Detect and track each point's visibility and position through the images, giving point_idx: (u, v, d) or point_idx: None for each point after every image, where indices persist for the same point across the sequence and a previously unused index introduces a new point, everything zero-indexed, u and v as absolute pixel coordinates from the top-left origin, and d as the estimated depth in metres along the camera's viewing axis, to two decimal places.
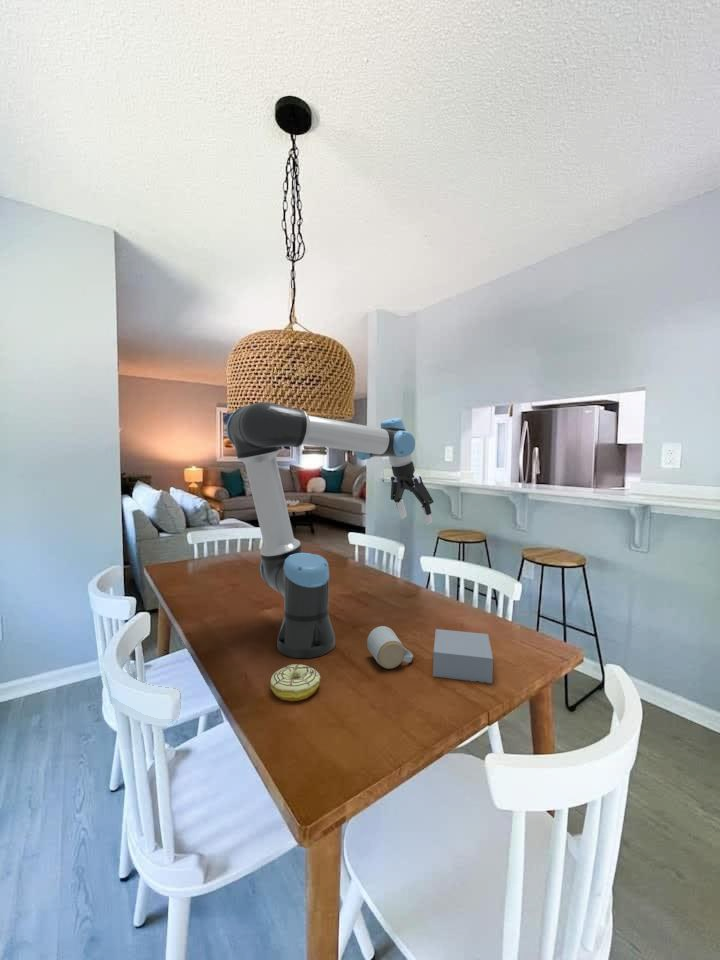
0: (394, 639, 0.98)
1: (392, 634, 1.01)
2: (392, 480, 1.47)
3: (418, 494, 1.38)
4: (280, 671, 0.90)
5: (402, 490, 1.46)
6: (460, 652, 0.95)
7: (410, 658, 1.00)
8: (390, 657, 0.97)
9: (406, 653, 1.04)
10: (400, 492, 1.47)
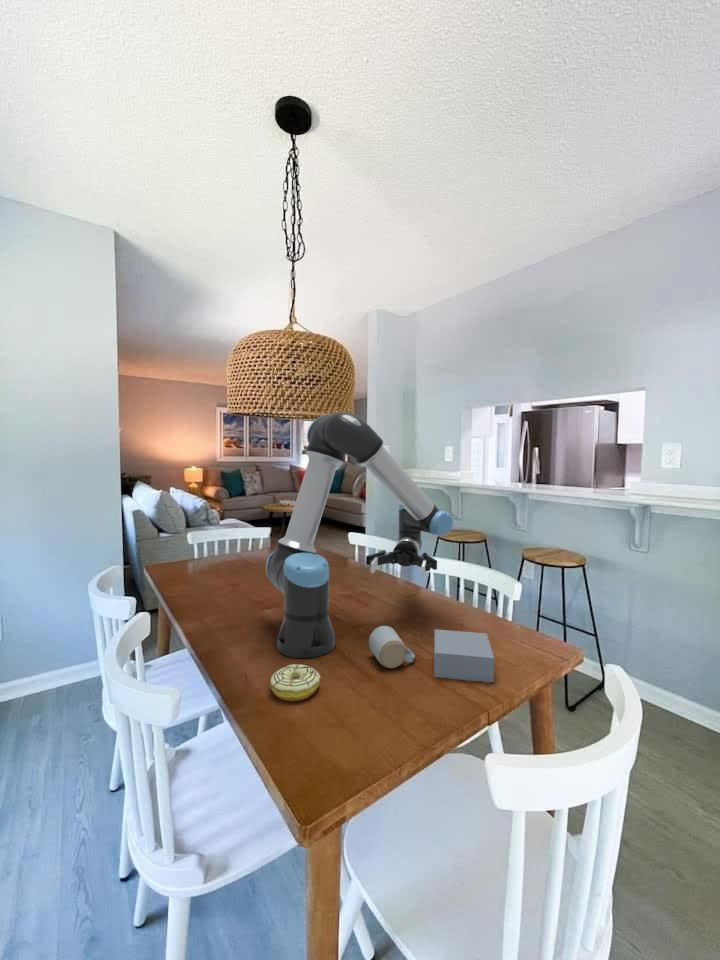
0: (396, 639, 0.98)
1: (394, 634, 1.01)
2: (383, 551, 1.26)
3: None
4: (280, 671, 0.90)
5: (389, 560, 1.21)
6: (461, 652, 0.94)
7: (412, 658, 1.00)
8: (392, 657, 0.97)
9: (408, 653, 1.04)
10: (387, 557, 1.21)
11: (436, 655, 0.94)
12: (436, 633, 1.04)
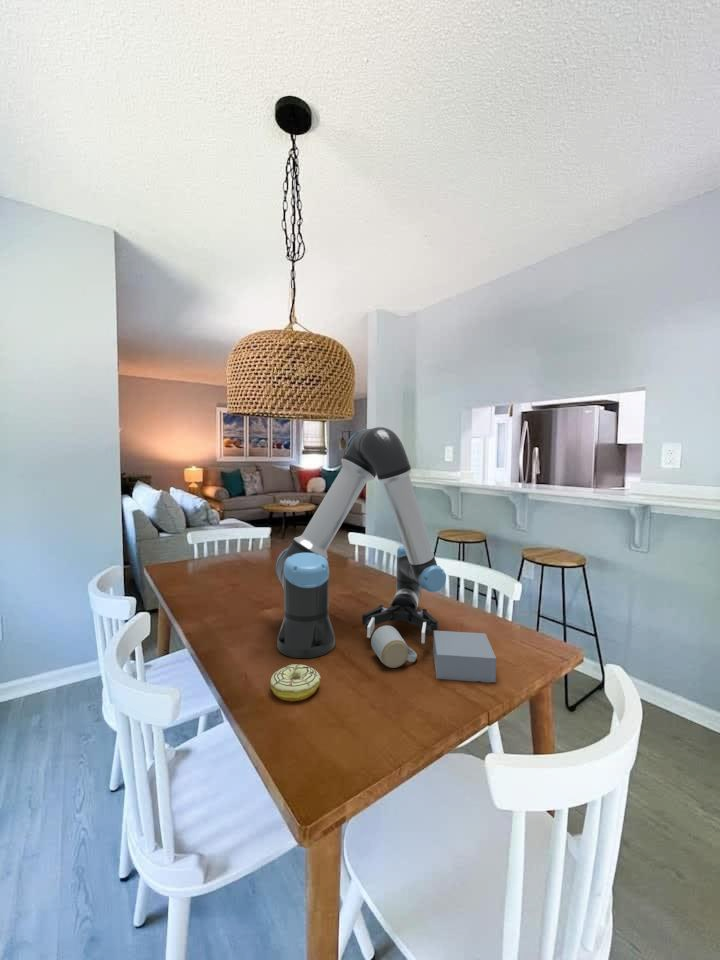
0: (398, 638, 0.98)
1: (396, 633, 1.01)
2: (380, 606, 1.19)
3: None
4: (280, 671, 0.90)
5: (386, 618, 1.14)
6: (463, 653, 0.94)
7: (414, 657, 1.00)
8: (394, 656, 0.97)
9: (410, 652, 1.04)
10: (385, 615, 1.14)
11: (438, 657, 0.93)
12: (436, 634, 1.04)
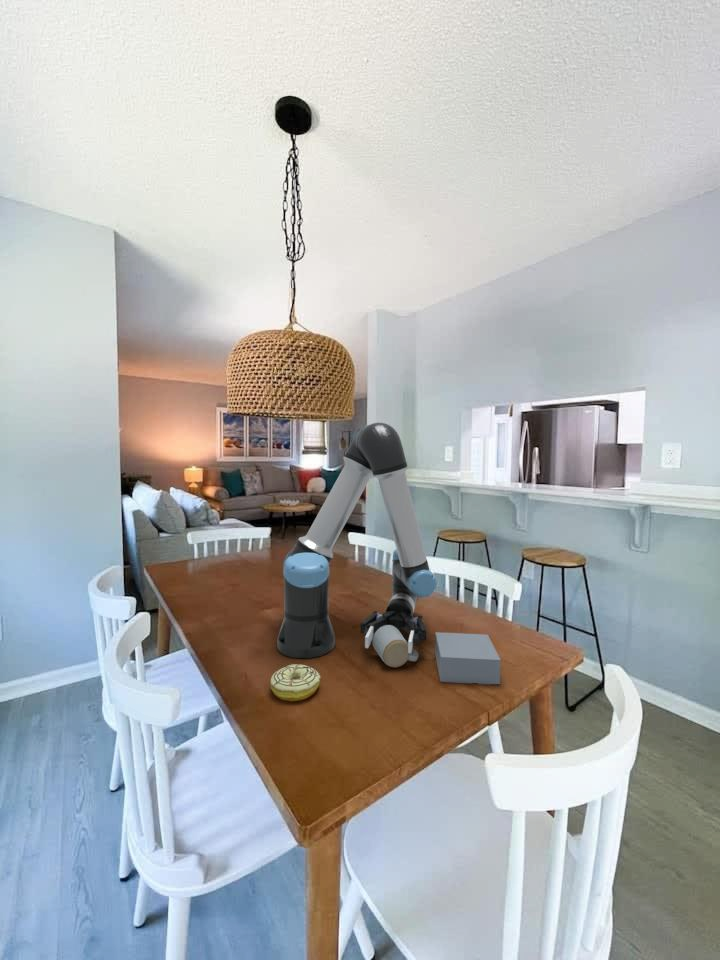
0: (399, 638, 0.98)
1: (397, 633, 1.01)
2: (375, 613, 1.13)
3: None
4: (280, 671, 0.90)
5: (383, 625, 1.09)
6: (467, 655, 0.93)
7: (415, 657, 1.00)
8: (396, 656, 0.97)
9: (411, 652, 1.04)
10: (382, 623, 1.08)
11: (442, 659, 0.92)
12: (438, 636, 1.03)
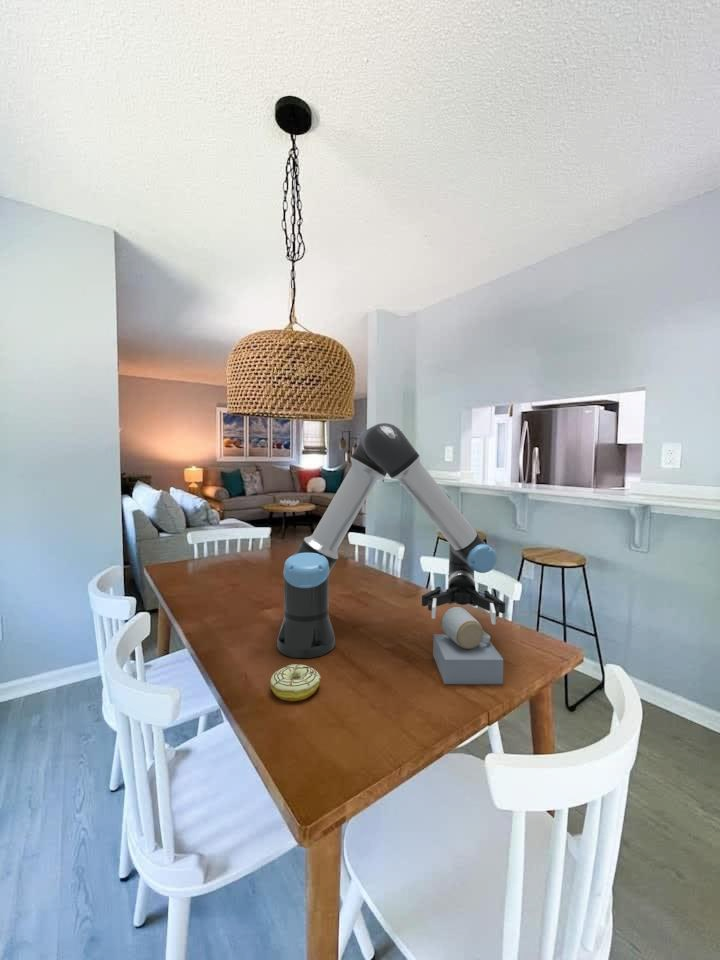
0: (472, 619, 0.96)
1: (469, 614, 0.99)
2: (438, 588, 1.12)
3: None
4: (280, 671, 0.90)
5: (447, 599, 1.07)
6: (470, 656, 0.93)
7: (488, 639, 0.98)
8: (470, 637, 0.95)
9: None
10: (445, 597, 1.07)
11: (446, 662, 0.91)
12: (437, 638, 1.02)
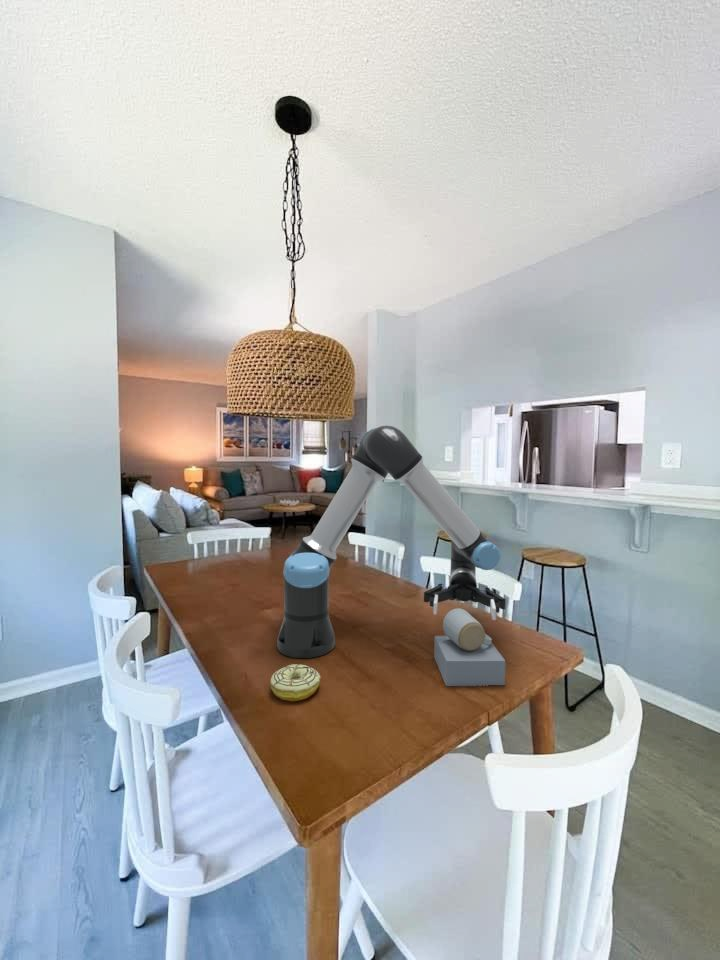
0: (474, 621, 0.95)
1: (470, 616, 0.98)
2: (440, 585, 1.14)
3: None
4: (280, 671, 0.90)
5: (448, 596, 1.09)
6: (472, 658, 0.92)
7: (489, 641, 0.97)
8: (471, 639, 0.94)
9: None
10: (447, 593, 1.09)
11: (448, 663, 0.91)
12: (438, 640, 1.01)
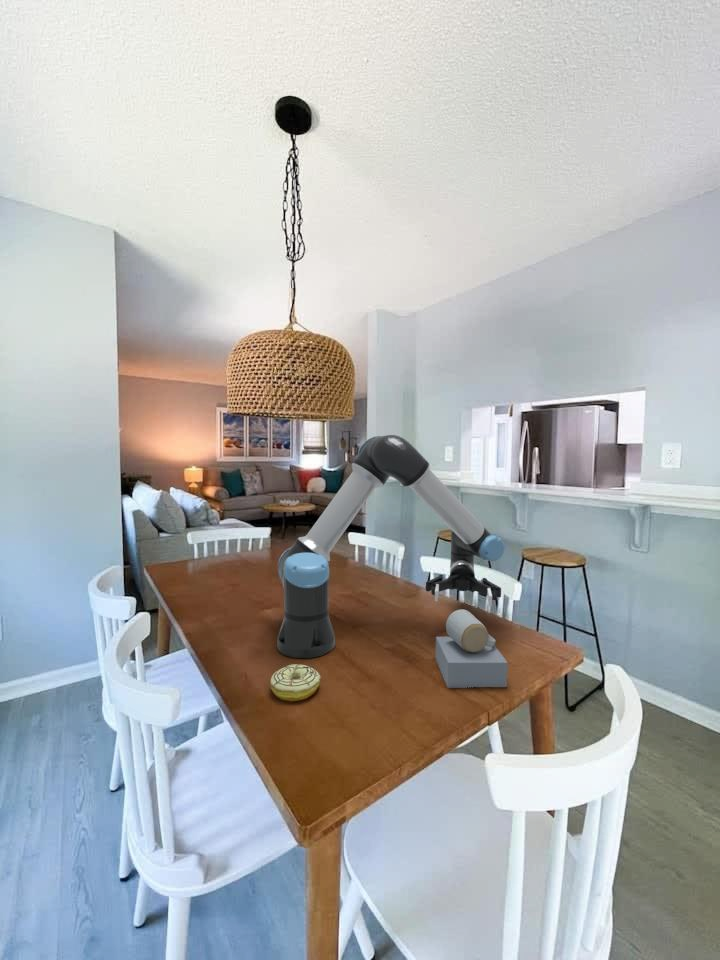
0: (477, 622, 0.94)
1: (474, 617, 0.97)
2: (441, 576, 1.23)
3: None
4: (280, 671, 0.90)
5: (448, 585, 1.18)
6: (473, 659, 0.91)
7: (493, 642, 0.96)
8: (475, 640, 0.93)
9: None
10: (447, 583, 1.18)
11: (449, 665, 0.90)
12: (439, 641, 1.00)
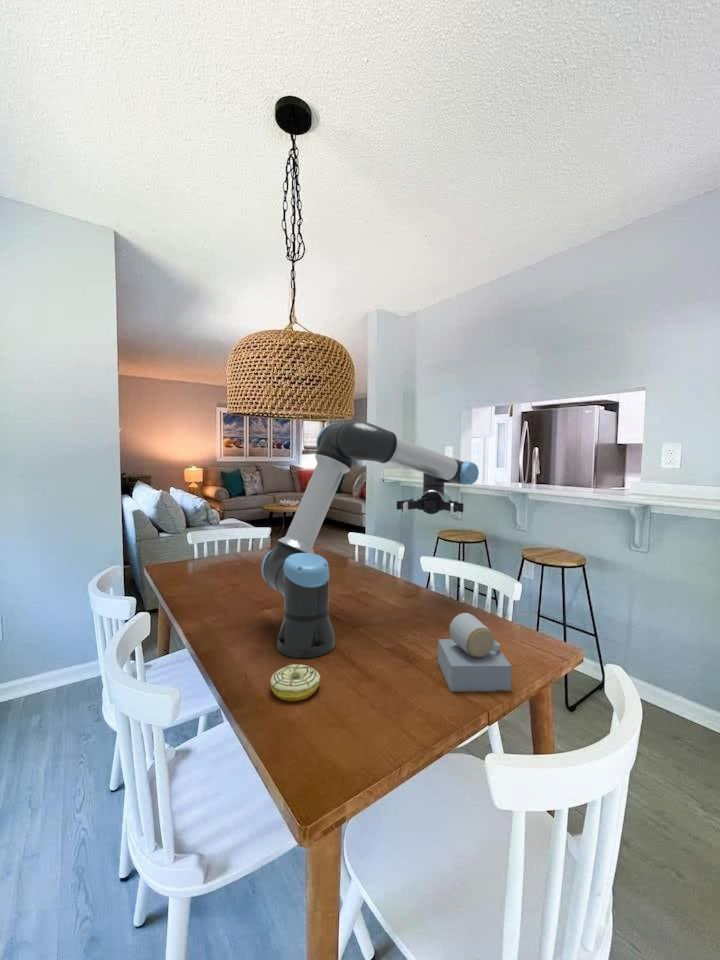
0: (483, 626, 0.92)
1: (478, 621, 0.95)
2: (411, 499, 1.35)
3: None
4: (280, 671, 0.90)
5: (417, 505, 1.31)
6: (477, 662, 0.90)
7: (498, 646, 0.94)
8: (480, 645, 0.91)
9: None
10: (416, 503, 1.30)
11: (453, 668, 0.88)
12: (442, 643, 0.99)
